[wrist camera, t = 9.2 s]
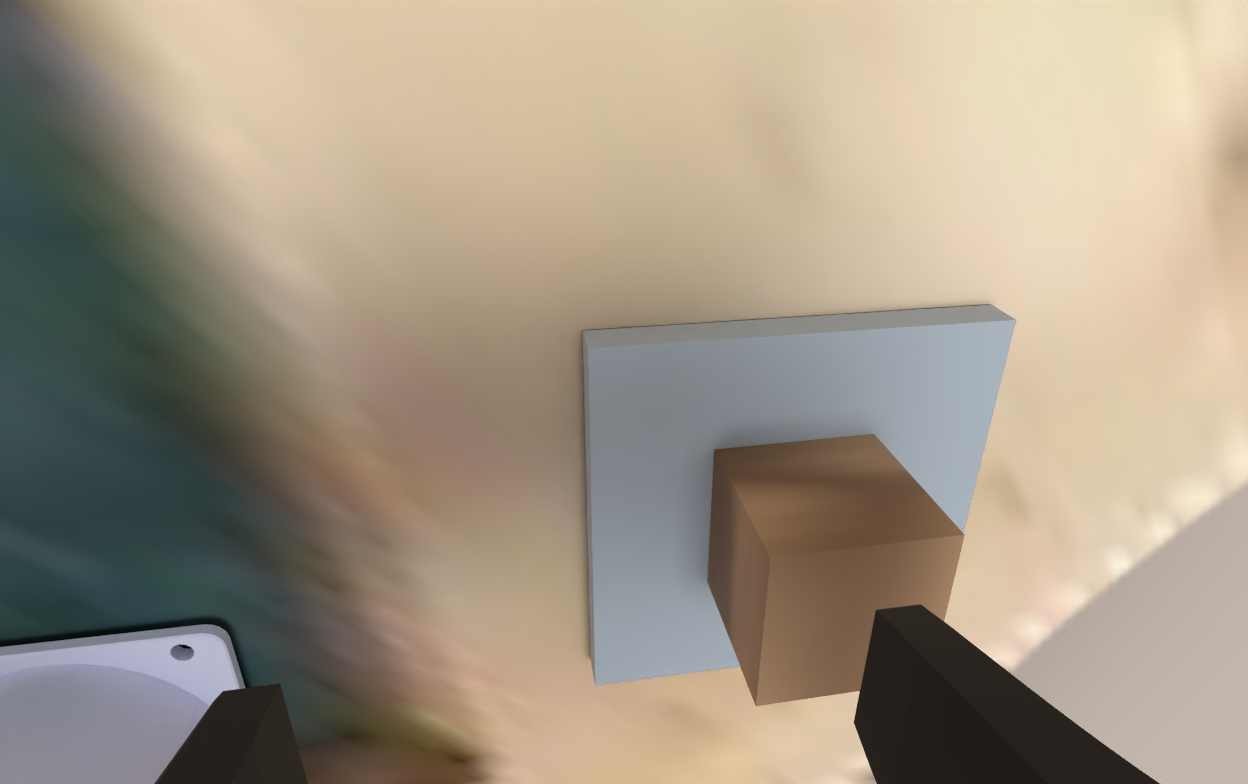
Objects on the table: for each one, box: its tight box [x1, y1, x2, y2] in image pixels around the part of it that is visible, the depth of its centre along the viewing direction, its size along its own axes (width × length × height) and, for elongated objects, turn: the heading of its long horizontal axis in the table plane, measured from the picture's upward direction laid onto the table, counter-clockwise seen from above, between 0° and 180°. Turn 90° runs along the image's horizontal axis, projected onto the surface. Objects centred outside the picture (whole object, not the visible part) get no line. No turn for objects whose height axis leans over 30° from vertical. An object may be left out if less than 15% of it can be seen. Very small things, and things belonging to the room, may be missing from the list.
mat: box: [583, 305, 1016, 686], centre depth 20 cm, size 10×10×1 cm
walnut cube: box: [707, 434, 964, 706], centre depth 18 cm, size 4×4×4 cm
